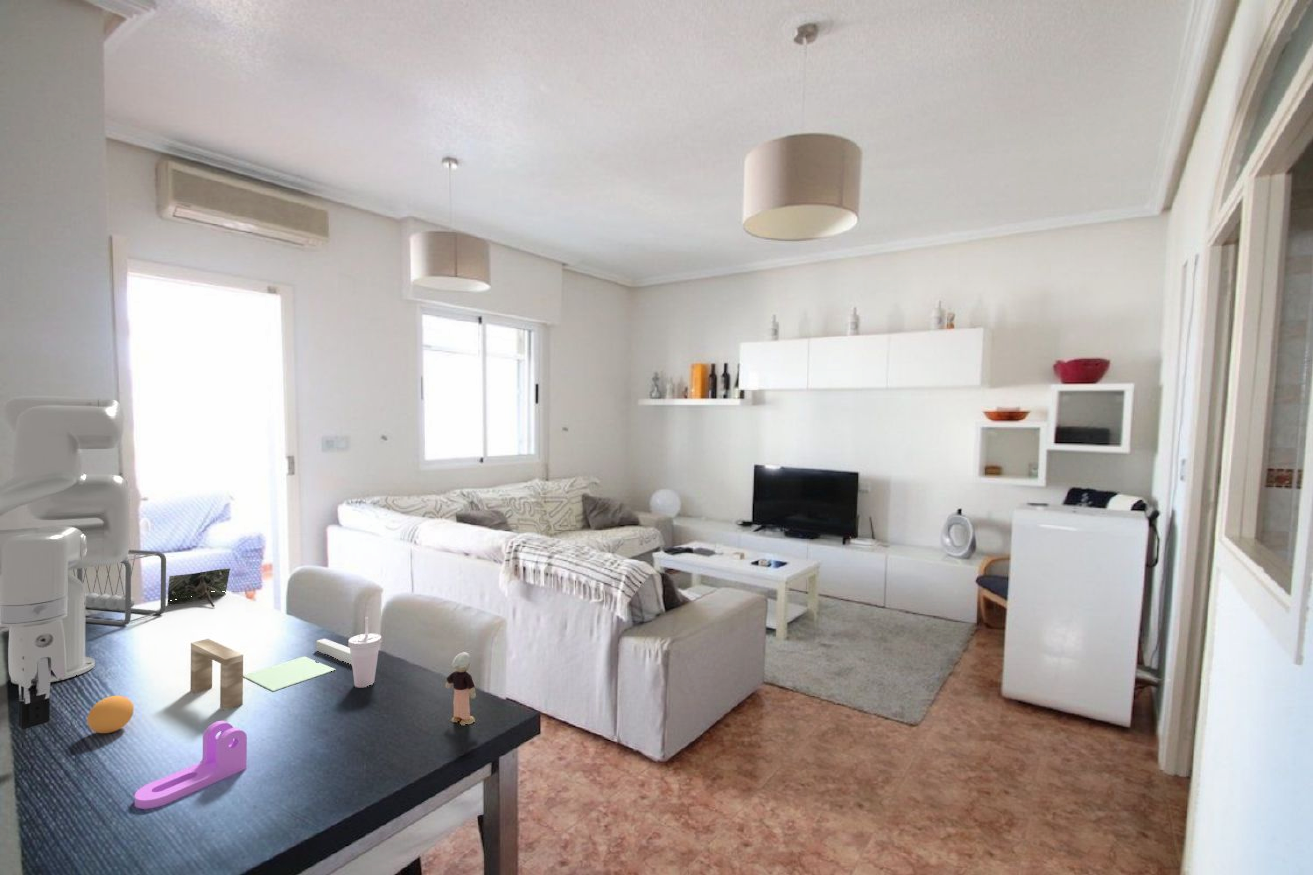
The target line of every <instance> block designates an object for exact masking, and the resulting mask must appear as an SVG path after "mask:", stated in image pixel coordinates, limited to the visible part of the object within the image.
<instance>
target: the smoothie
mask: <svg viewBox="0 0 1313 875" xmlns="http://www.w3.org/2000/svg"><path fill="white" fill-rule="evenodd" d="M364 621H365V624H364V628H365V629H364V630H365V632H364V633H362V634H361V633H360V634H357V635H354V636H352V637H350V638H349V639H348V640H347V642H348V644H347V647H349V648H350V652H351V660H352V665H351V667H352V674H353V684H354V687H355V688H359V689H360V688H367V686H368V687H370V686H369V685H371V686H372V685H373V683H374V684H375V680H376V679H375V678H376V672H377V665H378V658H379V651H380V644H381V643H382V636H381V634H379V633H374V632H373V633H372V632H371V633H369V616H365V620H364Z"/></svg>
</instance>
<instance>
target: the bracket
mask: <svg viewBox="0 0 1313 875" xmlns="http://www.w3.org/2000/svg"><path fill="white" fill-rule="evenodd" d="M219 733H220V734H219ZM217 734H219V735H218V736H217ZM216 736H217V737H216ZM247 741H248V736H247V733H246V732H245V731H244V730H241V729H240V728H238V727H233V724H231V723H229V722H227V721H225V720H219V721H218V720H217V721H215V722H213V723H211V724H210V725H209V726H208V727H207V728H206V729H205V730H204V732H203V735H202V760H201V761H200V762H198V763H195V764H193V765H191V766H187V767H185V768H183V769H181V770H179V771H176V772H174V773H171V774H168V775H166V776H164V777H162V778H158V779H157V780H154V781H151V782H149V783H147V784H145V785H143V786H141V787H140V788H139V789H138V790H136V792H135V794H134V806H135V807H136V808H137V809H142V810H143V809H145V810H147V809H154V808H157V807H161V806H165V805H167V804H169V803H172V802H174V801H176V800H179V799H181V798H183V797H185V796H187V795H190V794H192V793H194V792H196V791H199V790H201V789H204V788H206V787H208V786H210V785H213V784H214V783H217V782H220V781H221V780H223V779H227V778H229V777H231V776H233V775H235V774H238V773H240V772H242V771H245V770H247V767H248V766H247V764H248V763H247V757H248V756H247V753H248V751H247V750H248V749H247V748H248V746H247V745H248V742H247Z"/></svg>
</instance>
